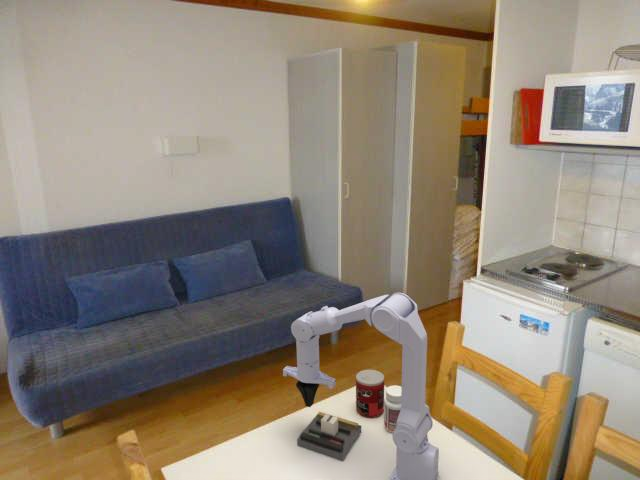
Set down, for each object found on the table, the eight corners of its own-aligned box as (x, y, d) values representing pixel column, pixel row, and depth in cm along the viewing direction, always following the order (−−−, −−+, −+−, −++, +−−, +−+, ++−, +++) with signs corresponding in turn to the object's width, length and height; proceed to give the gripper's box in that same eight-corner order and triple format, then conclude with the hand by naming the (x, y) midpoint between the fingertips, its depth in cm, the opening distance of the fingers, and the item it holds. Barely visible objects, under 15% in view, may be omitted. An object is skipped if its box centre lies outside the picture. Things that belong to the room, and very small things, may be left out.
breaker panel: (361, 432, 126) (361, 422, 126) (342, 461, 116) (342, 451, 115) (318, 419, 132) (318, 409, 131) (297, 445, 122) (296, 435, 121)
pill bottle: (411, 428, 127) (412, 392, 124) (394, 437, 124) (395, 400, 121) (396, 417, 132) (396, 381, 129) (379, 425, 129) (379, 389, 126)
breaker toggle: (338, 430, 124) (338, 417, 123) (333, 437, 122) (333, 423, 120) (326, 426, 126) (325, 413, 124) (321, 433, 123) (320, 419, 122)
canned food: (352, 405, 138) (351, 372, 135) (377, 399, 140) (377, 367, 137) (362, 421, 131) (362, 386, 128) (388, 415, 133) (388, 380, 130)
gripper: (340, 357, 121) (340, 403, 125) (291, 346, 127) (293, 389, 131) (328, 371, 115) (328, 418, 119) (277, 358, 121) (280, 403, 125)
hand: (309, 404), depth 124 cm, fingers closed
